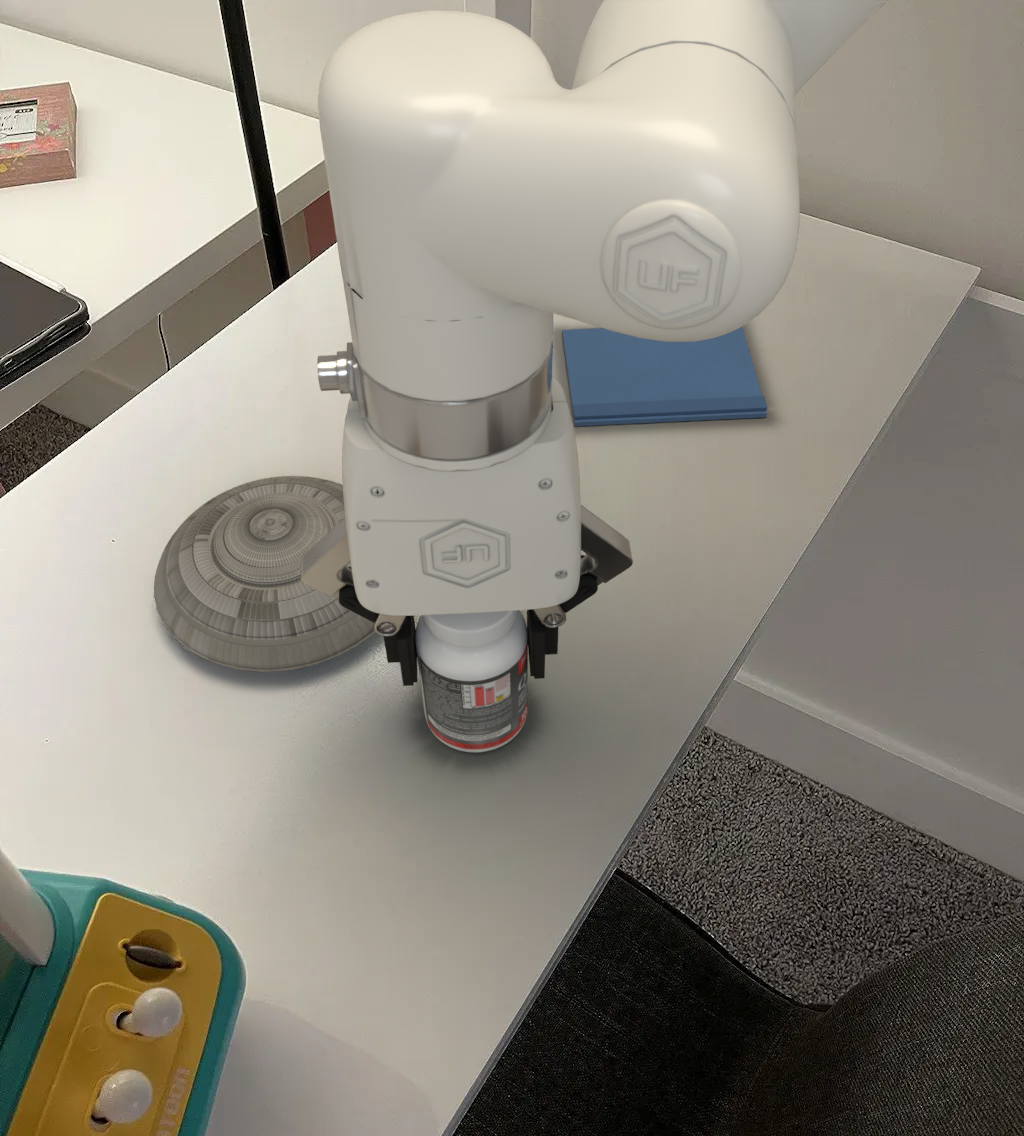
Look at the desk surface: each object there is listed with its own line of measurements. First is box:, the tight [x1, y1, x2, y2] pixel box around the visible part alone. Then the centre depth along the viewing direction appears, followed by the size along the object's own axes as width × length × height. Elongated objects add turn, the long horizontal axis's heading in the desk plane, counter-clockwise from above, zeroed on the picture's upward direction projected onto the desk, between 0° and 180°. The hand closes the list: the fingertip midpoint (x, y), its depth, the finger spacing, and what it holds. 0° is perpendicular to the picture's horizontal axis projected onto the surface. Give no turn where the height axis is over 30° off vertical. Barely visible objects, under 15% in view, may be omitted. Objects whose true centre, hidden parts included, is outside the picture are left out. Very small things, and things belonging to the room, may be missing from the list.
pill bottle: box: [415, 610, 529, 753], centre depth 58 cm, size 6×6×10 cm
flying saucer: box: [153, 475, 376, 673], centre depth 66 cm, size 15×15×6 cm
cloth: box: [561, 326, 768, 427], centre depth 79 cm, size 13×10×1 cm
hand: (472, 658), depth 58 cm, fingers open, 5 cm apart
